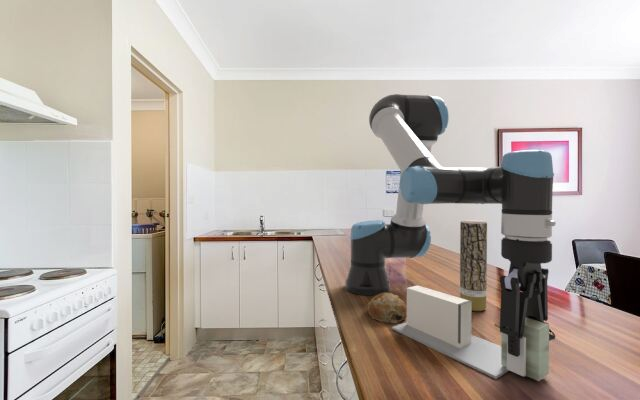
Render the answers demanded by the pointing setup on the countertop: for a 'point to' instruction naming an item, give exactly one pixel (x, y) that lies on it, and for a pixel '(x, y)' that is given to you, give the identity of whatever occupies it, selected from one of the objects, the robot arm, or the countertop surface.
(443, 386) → the countertop surface
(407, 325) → the block
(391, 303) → the bread roll
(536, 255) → the robot arm
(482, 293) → the paper tube
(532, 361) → the pale green block
